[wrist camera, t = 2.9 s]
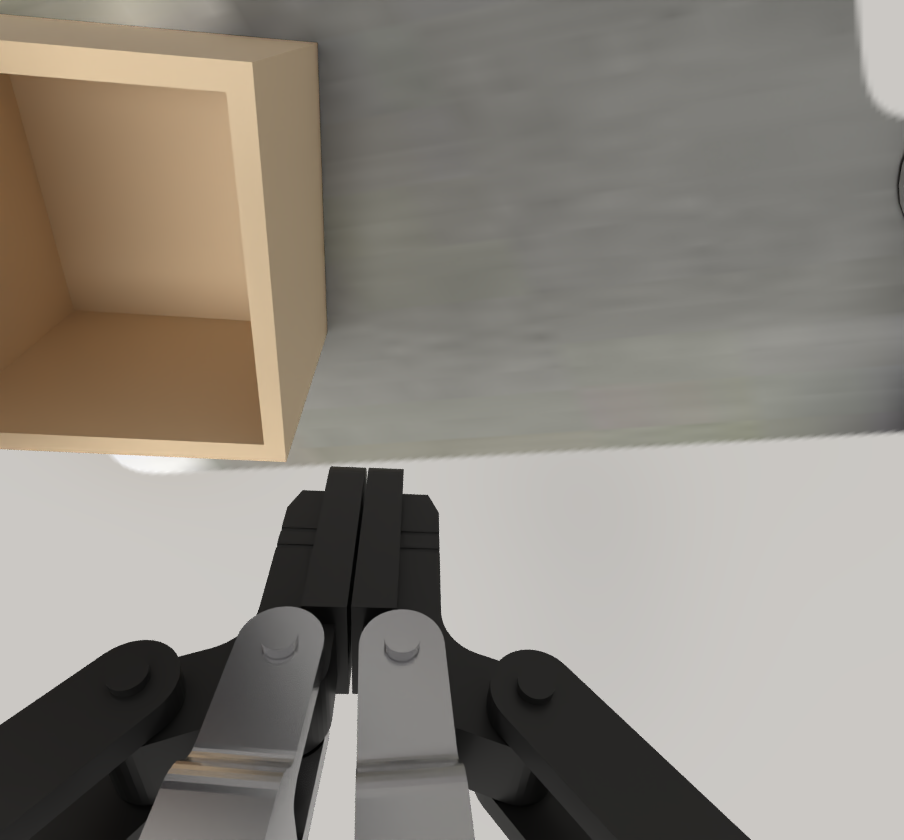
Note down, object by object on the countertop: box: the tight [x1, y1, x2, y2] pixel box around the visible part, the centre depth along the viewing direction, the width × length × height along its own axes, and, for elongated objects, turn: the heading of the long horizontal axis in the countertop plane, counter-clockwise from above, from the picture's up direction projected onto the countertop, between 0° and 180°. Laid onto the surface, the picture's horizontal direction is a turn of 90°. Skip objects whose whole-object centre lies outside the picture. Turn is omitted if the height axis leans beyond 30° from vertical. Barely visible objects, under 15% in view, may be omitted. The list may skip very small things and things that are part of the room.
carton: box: [0, 14, 327, 462], centre depth 26 cm, size 14×14×12 cm
